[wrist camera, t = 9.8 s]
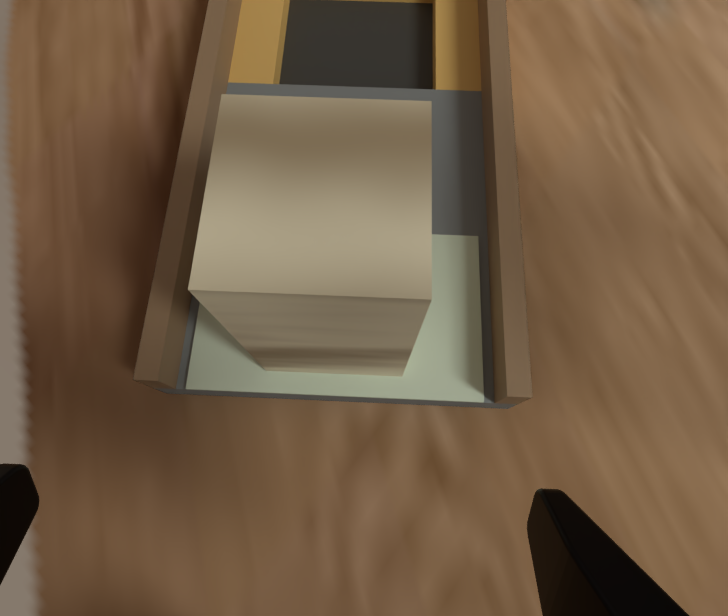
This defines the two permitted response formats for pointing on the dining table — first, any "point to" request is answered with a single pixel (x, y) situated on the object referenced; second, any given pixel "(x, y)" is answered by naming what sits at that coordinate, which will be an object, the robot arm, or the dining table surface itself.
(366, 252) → the maple block
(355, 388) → the trough deck
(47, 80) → the dining table surface
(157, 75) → the dining table surface
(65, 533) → the dining table surface
